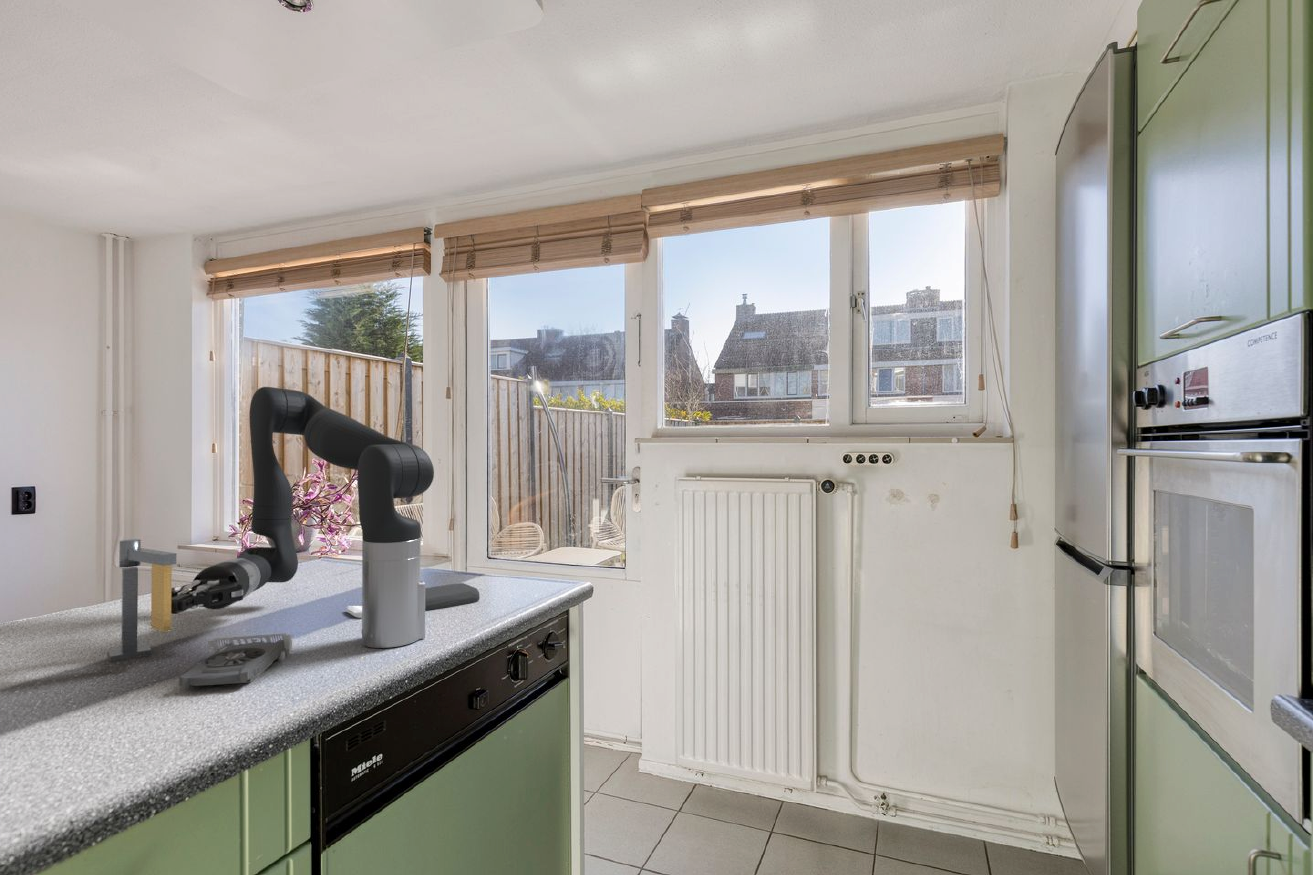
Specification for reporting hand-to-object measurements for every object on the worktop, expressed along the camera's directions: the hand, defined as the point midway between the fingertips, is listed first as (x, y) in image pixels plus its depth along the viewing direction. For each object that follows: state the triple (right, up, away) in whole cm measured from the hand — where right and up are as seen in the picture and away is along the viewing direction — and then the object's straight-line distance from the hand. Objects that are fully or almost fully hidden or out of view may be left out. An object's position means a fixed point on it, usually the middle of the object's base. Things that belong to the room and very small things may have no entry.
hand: (171, 607), depth 100 cm
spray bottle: (+24, -9, +35) cm, 43 cm away
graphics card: (+11, -9, -3) cm, 15 cm away
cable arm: (-5, -3, +2) cm, 6 cm away
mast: (-10, -9, +4) cm, 13 cm away
